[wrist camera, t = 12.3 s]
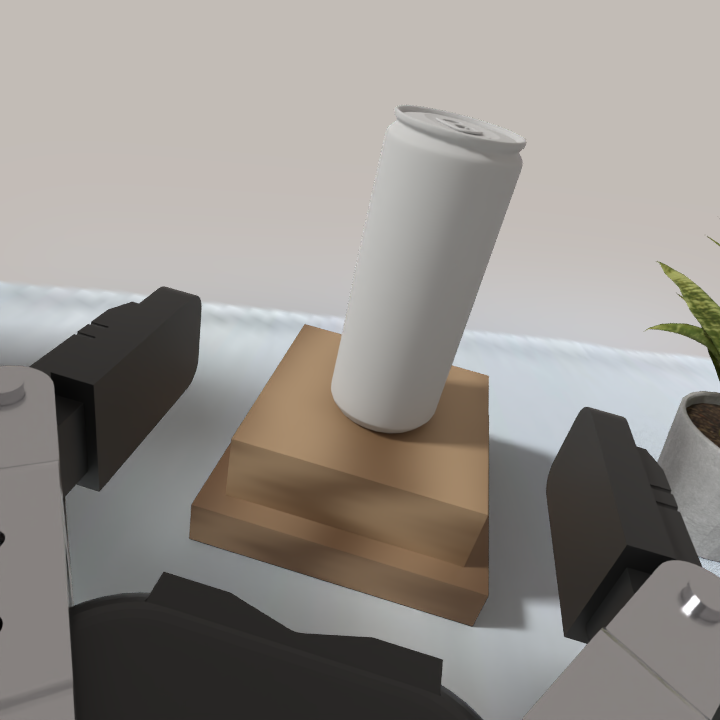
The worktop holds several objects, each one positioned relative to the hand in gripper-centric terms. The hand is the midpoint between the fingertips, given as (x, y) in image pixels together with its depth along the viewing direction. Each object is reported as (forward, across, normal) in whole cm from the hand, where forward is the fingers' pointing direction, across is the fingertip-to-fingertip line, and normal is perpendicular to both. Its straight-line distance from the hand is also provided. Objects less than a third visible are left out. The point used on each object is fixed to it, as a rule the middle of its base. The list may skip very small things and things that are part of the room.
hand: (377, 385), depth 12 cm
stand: (+11, 0, +13) cm, 17 cm away
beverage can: (+11, 0, +8) cm, 14 cm away
